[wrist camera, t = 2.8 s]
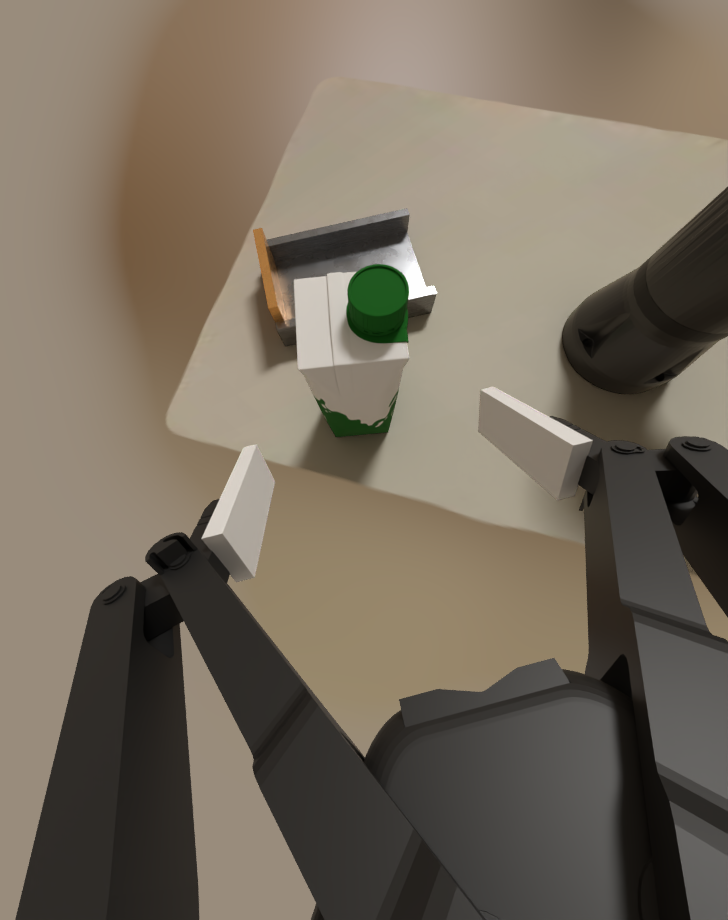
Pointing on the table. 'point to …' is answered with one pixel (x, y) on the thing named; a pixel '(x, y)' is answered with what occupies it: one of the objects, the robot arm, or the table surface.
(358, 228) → the rail channel
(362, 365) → the soya milk
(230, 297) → the table surface
